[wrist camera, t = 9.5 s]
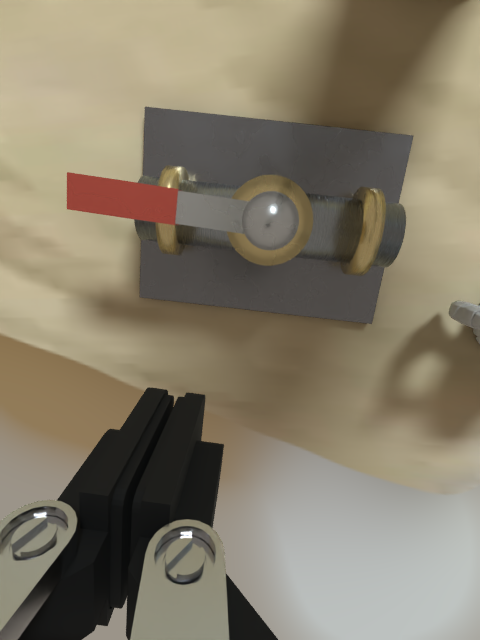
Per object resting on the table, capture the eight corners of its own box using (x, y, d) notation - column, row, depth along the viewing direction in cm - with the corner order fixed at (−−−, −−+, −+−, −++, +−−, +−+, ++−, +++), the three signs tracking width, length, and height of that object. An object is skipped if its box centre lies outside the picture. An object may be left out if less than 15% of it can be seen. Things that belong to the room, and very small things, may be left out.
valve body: (147, 109, 29) (111, 70, 21) (409, 138, 28) (462, 107, 21) (142, 295, 33) (110, 315, 26) (369, 321, 33) (401, 349, 25)
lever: (300, 197, 23) (304, 195, 21) (290, 252, 24) (293, 254, 22) (79, 164, 23) (67, 160, 21) (79, 220, 24) (66, 220, 22)
